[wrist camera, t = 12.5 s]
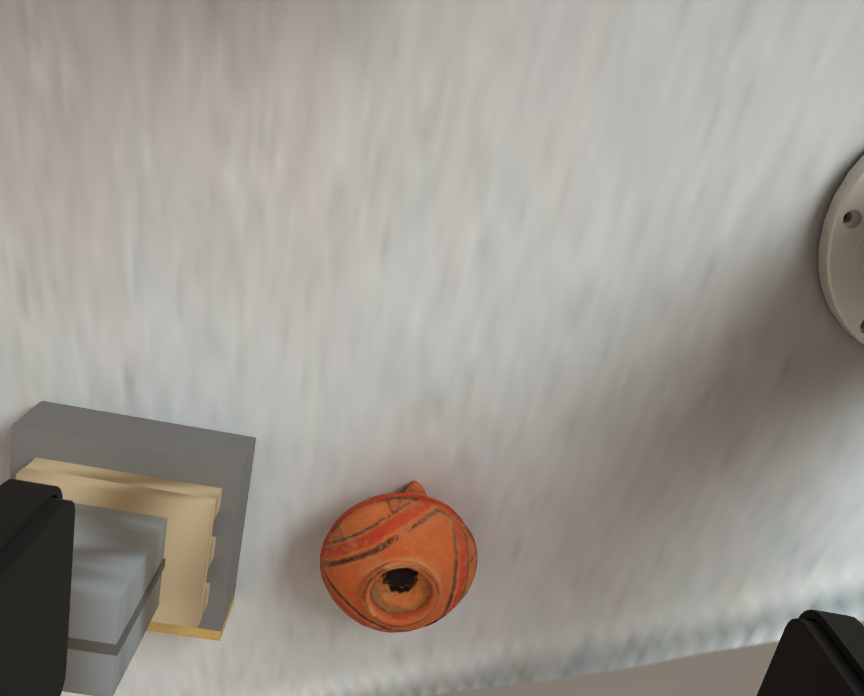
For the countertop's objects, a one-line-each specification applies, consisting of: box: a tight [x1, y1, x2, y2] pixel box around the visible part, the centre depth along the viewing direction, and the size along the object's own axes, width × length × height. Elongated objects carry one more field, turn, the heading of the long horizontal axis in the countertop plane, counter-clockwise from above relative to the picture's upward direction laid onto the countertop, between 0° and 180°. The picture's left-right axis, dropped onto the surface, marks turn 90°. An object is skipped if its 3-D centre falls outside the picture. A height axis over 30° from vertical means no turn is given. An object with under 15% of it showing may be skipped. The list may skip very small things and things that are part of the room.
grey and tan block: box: [16, 458, 222, 696], centre depth 34 cm, size 9×7×8 cm
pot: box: [320, 481, 477, 632], centre depth 39 cm, size 8×8×7 cm
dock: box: [11, 401, 256, 641], centre depth 40 cm, size 11×11×3 cm
